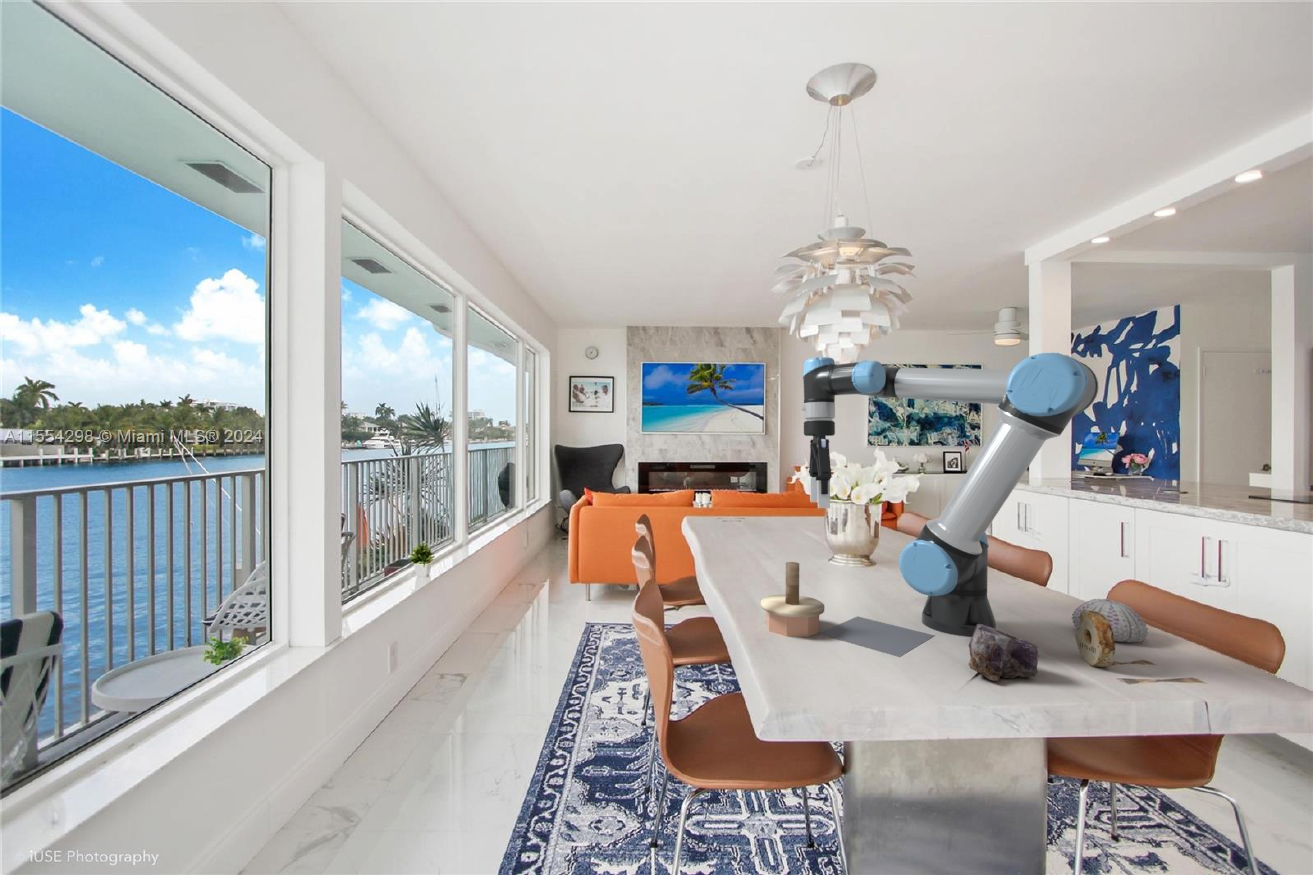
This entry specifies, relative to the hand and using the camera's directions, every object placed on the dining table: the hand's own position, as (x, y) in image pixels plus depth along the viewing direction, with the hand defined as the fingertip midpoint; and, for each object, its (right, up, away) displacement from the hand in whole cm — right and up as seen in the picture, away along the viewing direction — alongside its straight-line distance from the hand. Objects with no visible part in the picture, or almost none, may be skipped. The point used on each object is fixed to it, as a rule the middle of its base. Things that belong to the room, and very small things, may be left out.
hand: (819, 505), depth 143 cm
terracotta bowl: (-10, -27, -14) cm, 32 cm away
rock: (+22, -27, -37) cm, 51 cm away
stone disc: (+45, -27, -32) cm, 61 cm away
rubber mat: (+7, -27, -18) cm, 33 cm away
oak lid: (-10, -22, -14) cm, 27 cm away
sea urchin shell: (+60, -28, -16) cm, 68 cm away
